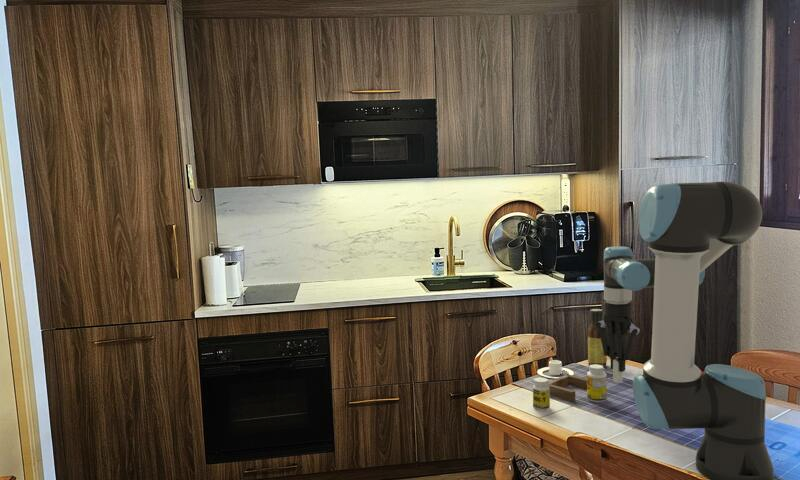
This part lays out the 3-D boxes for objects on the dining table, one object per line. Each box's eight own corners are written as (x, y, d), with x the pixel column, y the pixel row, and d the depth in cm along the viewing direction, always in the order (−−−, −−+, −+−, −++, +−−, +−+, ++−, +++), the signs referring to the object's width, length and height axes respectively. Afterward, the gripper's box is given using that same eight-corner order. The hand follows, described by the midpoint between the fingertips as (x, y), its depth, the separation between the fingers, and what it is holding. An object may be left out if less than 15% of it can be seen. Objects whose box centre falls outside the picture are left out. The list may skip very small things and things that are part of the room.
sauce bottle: (608, 369, 208) (607, 312, 206) (589, 368, 209) (588, 312, 207) (605, 363, 215) (604, 307, 213) (586, 363, 216) (586, 308, 214)
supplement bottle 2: (587, 395, 185) (587, 362, 184) (606, 397, 183) (606, 364, 182) (586, 402, 179) (586, 368, 178) (606, 403, 178) (606, 369, 176)
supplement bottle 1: (531, 409, 176) (530, 381, 175) (535, 403, 180) (534, 376, 179) (547, 411, 174) (547, 383, 173) (551, 405, 178) (551, 378, 177)
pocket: (572, 402, 180) (572, 392, 180) (543, 393, 188) (542, 384, 188) (596, 390, 188) (596, 381, 188) (567, 383, 196) (567, 374, 196)
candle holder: (573, 381, 199) (573, 368, 198) (535, 379, 202) (535, 366, 202) (574, 370, 210) (574, 357, 210) (538, 368, 214) (538, 356, 213)
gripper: (646, 302, 170) (646, 383, 173) (604, 295, 180) (604, 372, 183) (632, 306, 165) (632, 390, 168) (590, 300, 175) (590, 379, 178)
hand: (617, 381), depth 175 cm, fingers closed
